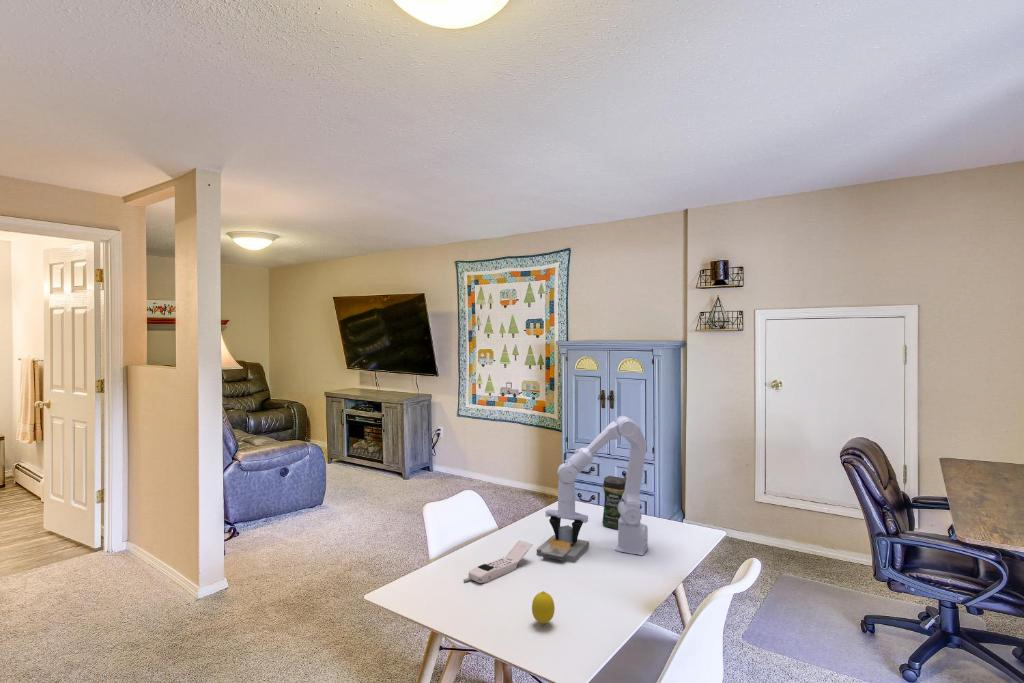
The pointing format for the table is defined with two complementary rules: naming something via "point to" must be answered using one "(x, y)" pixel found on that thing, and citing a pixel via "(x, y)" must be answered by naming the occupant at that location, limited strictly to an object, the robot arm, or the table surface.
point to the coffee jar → (612, 500)
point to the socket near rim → (581, 546)
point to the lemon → (543, 607)
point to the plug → (566, 534)
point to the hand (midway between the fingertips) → (566, 540)
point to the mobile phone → (499, 564)
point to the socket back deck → (570, 556)
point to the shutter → (557, 548)
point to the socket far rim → (550, 538)
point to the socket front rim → (579, 540)
